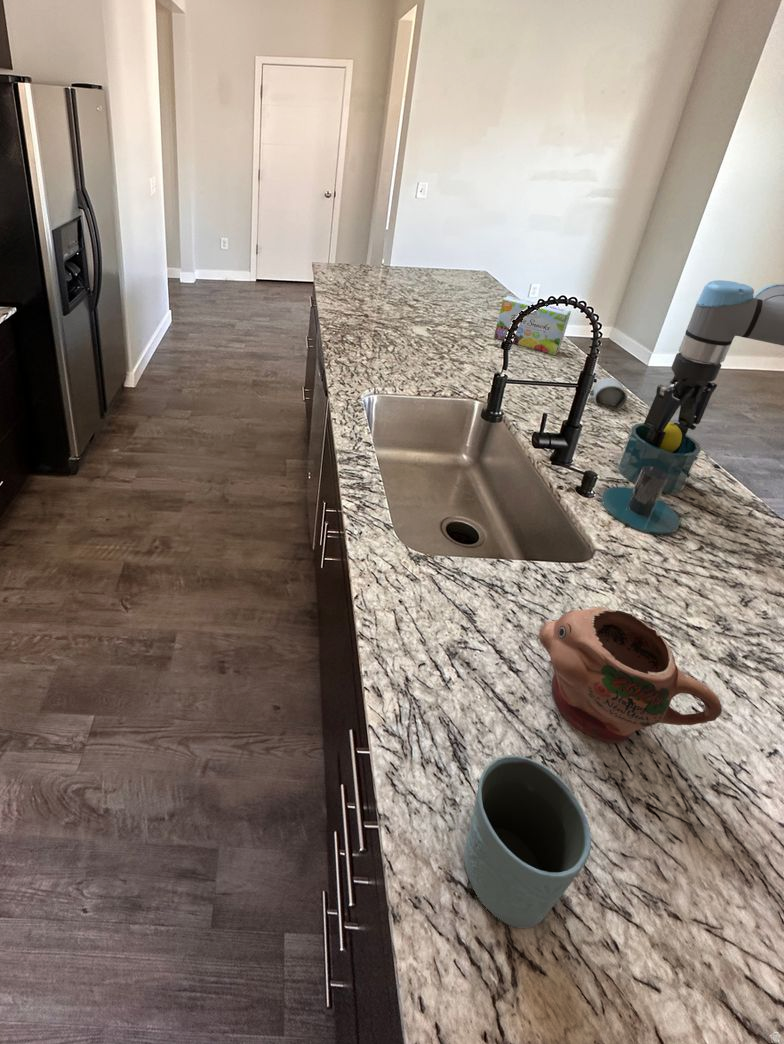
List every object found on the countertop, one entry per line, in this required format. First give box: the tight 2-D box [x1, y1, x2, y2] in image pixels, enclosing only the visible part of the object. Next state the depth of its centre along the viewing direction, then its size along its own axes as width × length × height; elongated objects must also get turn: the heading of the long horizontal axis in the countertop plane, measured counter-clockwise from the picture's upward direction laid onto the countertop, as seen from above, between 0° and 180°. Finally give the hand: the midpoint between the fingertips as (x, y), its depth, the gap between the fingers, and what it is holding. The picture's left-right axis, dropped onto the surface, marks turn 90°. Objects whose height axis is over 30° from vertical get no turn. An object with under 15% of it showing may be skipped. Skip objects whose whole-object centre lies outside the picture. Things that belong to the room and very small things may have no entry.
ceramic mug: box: [587, 377, 628, 410], centre depth 150 cm, size 11×8×8 cm
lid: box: [600, 466, 680, 536], centre depth 108 cm, size 14×14×10 cm
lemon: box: [659, 421, 682, 452], centre depth 117 cm, size 6×6×8 cm
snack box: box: [493, 295, 572, 356], centre depth 185 cm, size 21×6×15 cm, turn 49°
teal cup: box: [463, 754, 592, 929], centre depth 55 cm, size 10×10×12 cm
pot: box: [617, 422, 702, 495], centre depth 119 cm, size 13×13×10 cm
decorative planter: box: [538, 606, 723, 744], centre depth 70 cm, size 20×12×14 cm, turn 63°
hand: (659, 452), depth 118 cm, fingers closed on lemon, 5 cm apart
